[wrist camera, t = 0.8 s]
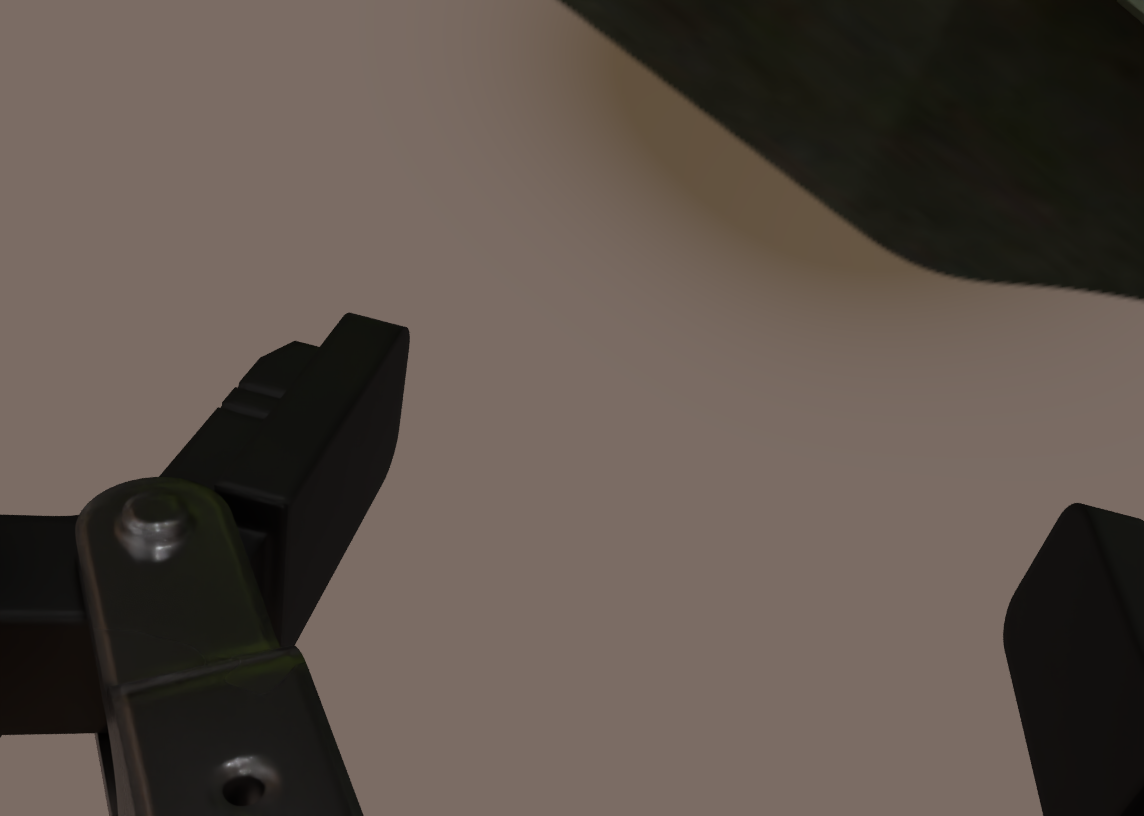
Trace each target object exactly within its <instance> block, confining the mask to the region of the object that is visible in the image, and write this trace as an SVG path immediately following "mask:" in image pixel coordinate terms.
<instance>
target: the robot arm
mask: <svg viewBox="0 0 1144 816" xmlns="http://www.w3.org/2000/svg"><path fill="white" fill-rule="evenodd" d="M409 342H410V336H409V330H408V328H407V327H403V326H399V325H396V324H391V323H388V322H383V321H380V320H376V319H372V318H369V317H365V316H361V315H357V314H353V313H347V314H345V315H344V316H343V317H342V319H341V320H340V321H339V323H338V324H337V325H336V327H335V328H334V329H333V330H332V332H331V333H330V334H329V336H328V337H327V338H326V340H325V341H324V342H323V344H322V345H321V346H320V347H317V346H313V345H309V344H306V343H302V342H298V341H293V342H291V343H289V344H287V345H285V346H283V347H281V348H279V349H277V350H275V351H273V352H271V353H269V354H267V355H265V356H263V357H261V358H260V359H259V360H258V361H257V362H256V363H255V364H254V366H253V367H252V368H251V369H250V370H249V371H248V373H247V374H246V375H245V376H244V377H243V378H242V380H241V381H240V382H239V386H238V388H237V387H235V388H234V389H233V390H232V391H231V393H230V394H229V395H228V396H227V397H226V398H225V400H224V401H223V402H222V406H221V408H217V409H216V410H215V411H214V413H213V414H212V415H211V416H210V417H209V419H208V420H207V421H206V422H205V423H204V424H203V426H202V427H201V428H200V429H199V430H198V431H197V433H196V434H195V435H194V436H193V437H192V439H191V440H190V441H189V442H188V443H187V444H186V446H185V447H184V448H183V449H182V450H181V452H180V453H179V454H178V455H177V456H176V457H175V459H174V460H173V461H172V462H171V463H170V464H169V466H168V467H167V468H166V469H165V470H164V471H163V473H162V474H161V475H160V476H159V477H152V478H142V479H137V480H132V481H128V482H125V483H122V484H119V485H116V486H114V487H111V488H109V489H107V490H105V491H104V492H102V493H100V494H99V495H97V496H96V497H95V498H93V499H92V500H91V501H90V502H89V503H88V504H87V505H86V506H85V507H84V509H83V510H82V511H81V513H80V515H74V516H29V515H27V516H26V515H0V737H1V736H2V735H24V734H76V733H95V738H96V744H97V749H98V755H99V761H100V766H101V772H102V778H103V783H104V789H105V794H106V800H107V806H108V811H109V816H363V813H362V810H361V808H360V805H359V802H358V800H357V797H356V794H355V792H354V789H353V787H352V784H351V781H350V778H349V776H348V773H347V770H346V768H345V765H344V762H343V760H342V757H341V754H340V752H339V749H338V746H337V744H336V741H335V738H334V736H333V733H332V730H331V728H330V725H329V723H328V720H327V717H326V714H325V712H324V709H323V706H322V704H321V701H320V698H319V696H318V693H317V690H316V688H315V685H314V682H313V680H312V677H311V674H310V672H309V669H308V667H307V664H306V662H305V659H304V657H303V655H302V654H301V652H300V651H299V649H298V648H297V647H296V646H294V645H295V644H296V642H297V640H298V638H299V636H300V634H301V633H302V631H303V629H304V627H305V625H306V623H307V622H308V620H309V618H310V616H311V614H312V612H313V611H314V609H315V607H316V605H317V603H318V601H319V600H320V597H321V596H322V594H323V592H324V590H325V588H326V586H327V585H328V583H329V581H330V579H331V577H332V576H333V574H334V572H335V570H336V568H337V566H338V565H339V563H340V561H341V559H342V557H343V555H344V553H345V552H346V550H347V548H348V546H349V544H350V543H351V541H352V539H353V537H354V535H355V533H356V531H357V530H358V528H359V526H360V524H361V522H362V520H363V519H364V516H365V515H366V513H367V511H368V509H369V507H370V506H371V504H372V502H373V500H374V498H375V497H376V495H377V493H378V491H379V489H380V487H381V485H382V483H383V482H384V480H385V478H386V475H387V473H388V470H389V468H390V465H391V462H392V459H393V455H394V452H395V448H396V443H397V439H398V432H399V426H400V418H401V409H402V401H403V393H404V385H405V376H406V368H407V360H408V352H409ZM1003 640H1004V641H1003V642H1004V649H1005V654H1006V658H1007V662H1008V666H1009V671H1010V675H1011V679H1012V683H1013V688H1014V692H1015V696H1016V701H1017V705H1018V709H1019V713H1020V718H1021V722H1022V726H1023V730H1024V735H1025V739H1026V743H1027V748H1028V752H1029V756H1030V760H1031V764H1032V769H1033V773H1034V777H1035V781H1036V786H1037V790H1038V795H1039V799H1040V803H1041V807H1042V812H1043V816H1144V521H1143V520H1141V519H1139V518H1135V517H1131V516H1127V515H1123V514H1119V513H1115V512H1112V511H1108V510H1104V509H1100V508H1096V507H1092V506H1088V505H1085V504H1081V503H1074V504H1072V505H1070V506H1068V507H1067V508H1066V509H1065V510H1064V511H1063V512H1062V514H1061V515H1060V517H1059V518H1058V520H1057V522H1056V523H1055V525H1054V527H1053V529H1052V530H1051V532H1050V533H1049V535H1048V537H1047V539H1046V540H1045V542H1044V544H1043V546H1042V547H1041V549H1040V550H1039V552H1038V554H1037V556H1036V557H1035V559H1034V561H1033V562H1032V564H1031V566H1030V568H1029V569H1028V571H1027V573H1026V575H1025V576H1024V578H1023V579H1022V581H1021V583H1020V584H1019V586H1018V588H1017V590H1016V591H1015V593H1014V595H1013V597H1012V599H1011V601H1010V604H1009V606H1008V609H1007V614H1006V617H1005V623H1004V632H1003Z"/></svg>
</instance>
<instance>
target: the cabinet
mask: <svg viewBox="0 0 1144 816" xmlns="http://www.w3.org/2000/svg"><path fill="white" fill-rule="evenodd" d="M1116 1H1117V2H1118V3H1119V4H1120V5H1121V6H1123V7H1124V8H1125V9H1126V10H1127V11H1128V12H1130V13H1131V14H1132V15H1133V16H1134V17H1135V18H1137V19H1138V20H1139V21H1140V22H1141V23H1142V24H1143V25H1144V0H1116Z"/></svg>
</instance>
